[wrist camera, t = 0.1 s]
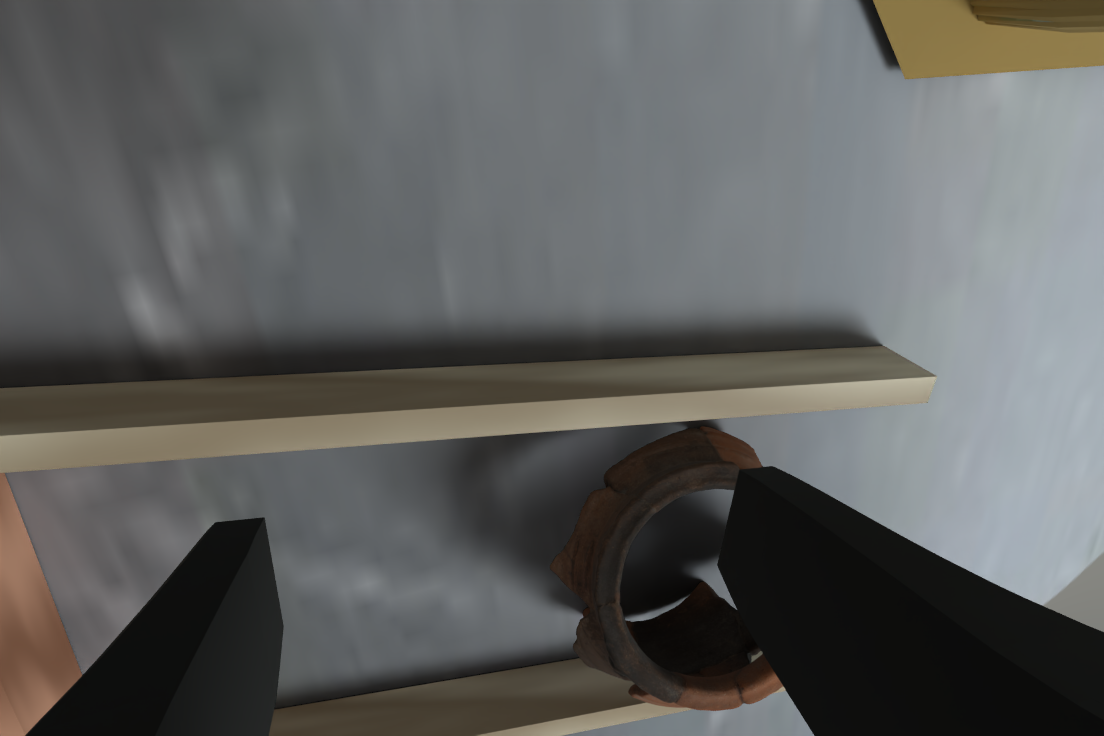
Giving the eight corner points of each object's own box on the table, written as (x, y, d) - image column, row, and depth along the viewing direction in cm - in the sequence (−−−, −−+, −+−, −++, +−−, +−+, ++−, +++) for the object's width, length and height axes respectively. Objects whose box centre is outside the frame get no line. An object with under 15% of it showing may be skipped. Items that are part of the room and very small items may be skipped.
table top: (790, 637, 29) (830, 693, 27) (65, 764, 22) (23, 858, 20) (884, 345, 23) (948, 383, 20) (-99, 393, 16) (-195, 460, 13)
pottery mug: (506, 618, 25) (527, 717, 17) (572, 394, 26) (622, 386, 18) (775, 689, 27) (914, 812, 18) (828, 473, 28) (982, 500, 19)
